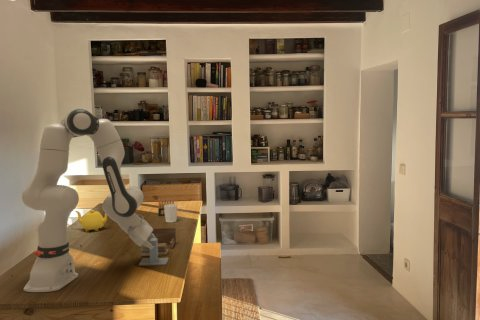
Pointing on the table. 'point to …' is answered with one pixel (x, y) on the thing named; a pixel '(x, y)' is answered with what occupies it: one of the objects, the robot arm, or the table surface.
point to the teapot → (92, 220)
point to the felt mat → (147, 262)
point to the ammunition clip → (161, 208)
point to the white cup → (170, 212)
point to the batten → (154, 250)
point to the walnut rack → (165, 235)
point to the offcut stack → (161, 250)
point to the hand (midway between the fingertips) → (154, 245)
